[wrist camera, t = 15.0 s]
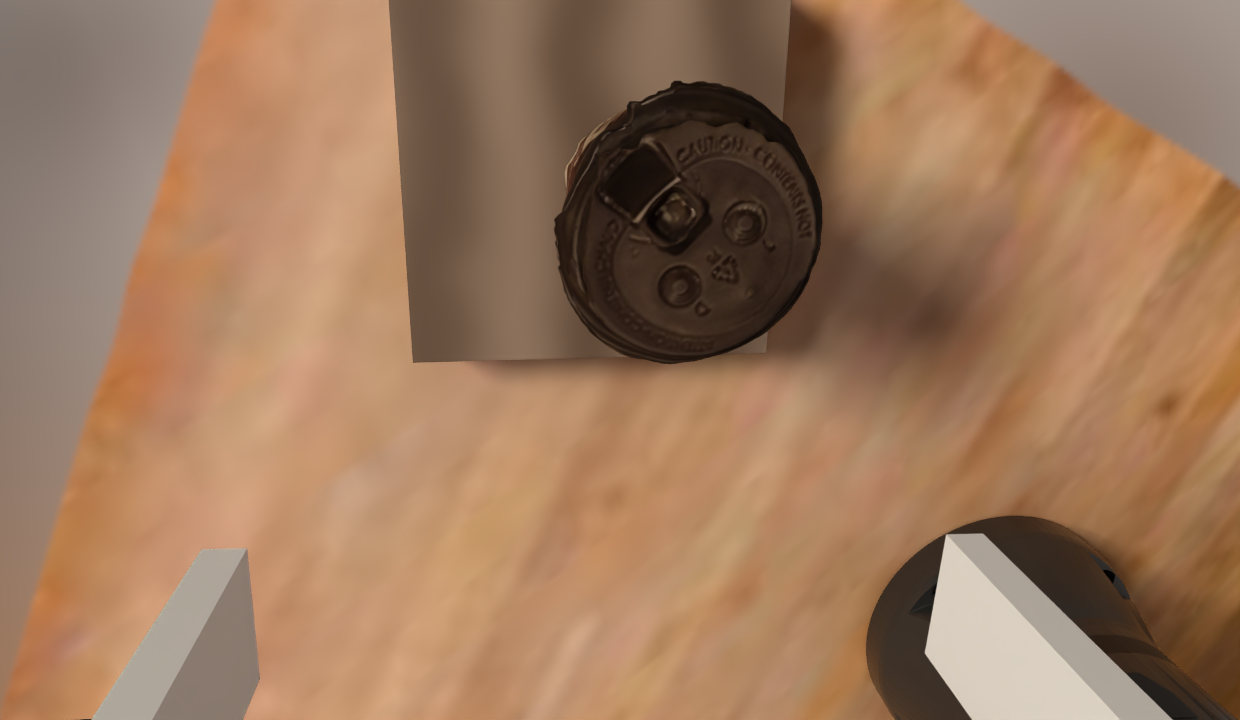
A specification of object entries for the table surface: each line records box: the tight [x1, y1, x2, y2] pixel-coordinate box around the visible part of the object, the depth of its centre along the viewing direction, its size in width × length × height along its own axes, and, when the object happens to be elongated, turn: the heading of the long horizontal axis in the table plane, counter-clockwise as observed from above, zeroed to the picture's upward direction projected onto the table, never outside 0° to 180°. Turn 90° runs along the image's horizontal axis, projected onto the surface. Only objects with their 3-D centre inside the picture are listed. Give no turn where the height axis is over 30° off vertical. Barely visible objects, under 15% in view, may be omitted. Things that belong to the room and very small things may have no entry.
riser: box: [389, 0, 791, 363], centre depth 39 cm, size 16×16×4 cm
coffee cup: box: [554, 81, 822, 364], centre depth 31 cm, size 9×8×13 cm
